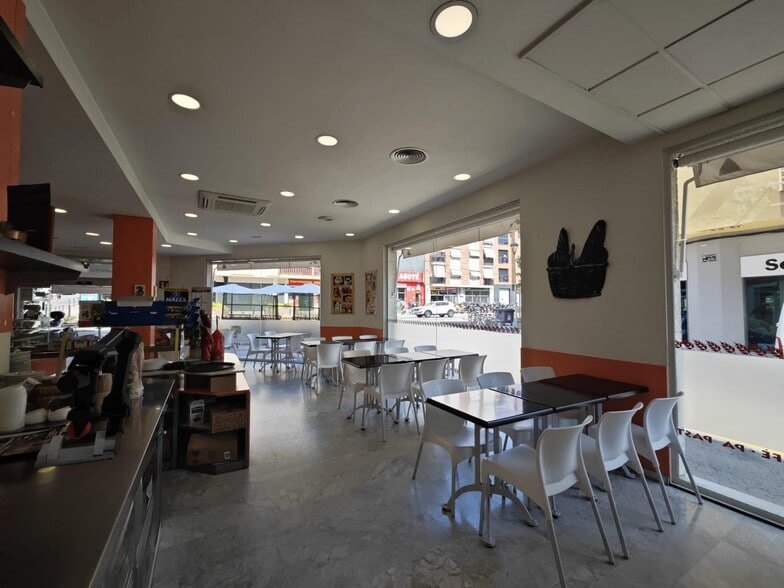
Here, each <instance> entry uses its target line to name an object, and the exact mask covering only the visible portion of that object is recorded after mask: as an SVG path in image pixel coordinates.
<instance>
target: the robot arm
mask: <svg viewBox="0 0 784 588" xmlns="http://www.w3.org/2000/svg"><path fill="white" fill-rule="evenodd" d="M142 340H143V338H142V335H140V333H139V332H135V331H133V330H131V329H129V328H127V327H118V326H117V327H116V326H115V327H112V328H111V329H110V331H109V332H108V333H107V334H105V335H103V337H102V338H100V339H99V340H97V341H96V343H93V344H89V345H86V346H84V347H82V348H80V349H79V350H78V351H77V352H75V354H74V356H73V357H72V360H71V361H70V362H69V364H68V366H67V368H66V372H65V373H66V374H64V375H62V376H60V377H59V379H58V380H57V381H56V389H57V390H58V391H59V392H61V393H63V394H65V395H61V396H59V397H55V398H52V399H50V400H48V402H47V406H48V407H47V408H48V409H49V411H50V412H51V413H54V412H57V411H58V410H61V409H65V408H68V407H69V410H68V411H67V413H66V416H65V417H66V418H65V420H66V421H69V422H70V423H71V422H72V423H73V426H74V434H75V438H79V437H80V435H81V434H82V432H83V431H84V429H85V428H86V426H87V425H88V423H89V422H90V423H91V420H92V419H93V416H94V412H95V407H96V405H97V403H96V402H97V399H96V395H97V394H96V393H97V390H98V383H99V377H100V376H99V375H100V373H101V372H102V371H103V369H102V367H103V365H105V363H106V361H107V359H108V353H110V352H111V351H112V350H113V349H115V351H116V354H117V358H116V363H115V367H114V372H113V373H114V374H113V377H112V379H113V383H112V382H111V384H112V388H111V387H110V390H111V392H109V393H108V394H107V395H106V396H104V397H103V398H102V403H101V406H100V418H106V420H105V427H104V429H103V431H106V433H105V436H109V435H110V436H111V435H112V436H113V435H116V433H120V432H122V435H123V434H125V427H124V426H125V419H126V418H131V416H132V413H133V409H132V408H133V407H132V406H131V402H130V403H129V396H128V394H127V392H126V387H127V382H128V377H129V374H130V372H131V365H132V360H133V355H134V354H135V353H136V351H137V350H138V349H139V348H140V345H141V343H142Z"/></svg>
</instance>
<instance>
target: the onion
mask: <svg viewBox="0 0 784 588" xmlns="http://www.w3.org/2000/svg"><path fill="white" fill-rule="evenodd" d="M91 424H92V423H91V421H90V422H89V423H88V425H87V426H86V428H85V429H84V431H83V432H82V434H81V435H80V437H79V438H75V434H74V426H73V423H72V422H71V421H70V423H69V424H68V425H67V428H66V434H67V435H68V436H69V437H70V438H72V439H74V440H80V439H81V438H82V437H84V436H85V435H87V434H88V433H89V431H90V429H91Z"/></svg>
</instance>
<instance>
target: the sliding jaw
mask: <svg viewBox="0 0 784 588" xmlns="http://www.w3.org/2000/svg"><path fill="white" fill-rule="evenodd" d="M105 433H106V431H104V430H98V431H96V435H95V441H94V445H93V446H94V452H93V455H99V454H103V450H110V449H114V452H115V453H116V452H120V451H121V448H122V447H121V446H122V440H123V434H122V432H120V433H116V434H115V436H114V437H115V438H109V439H106V435H105Z"/></svg>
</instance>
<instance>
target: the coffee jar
mask: <svg viewBox="0 0 784 588" xmlns="http://www.w3.org/2000/svg"><path fill="white" fill-rule="evenodd" d="M112 383H113V378H112V380H111V386H110V392H111V388H112ZM133 385H134V375H131V374H130V373H129V377H128V382H127V387H126V392H127V394H128V396H129V403H130V404H131V398H132V391H133ZM110 392H109V393H110Z"/></svg>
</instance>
